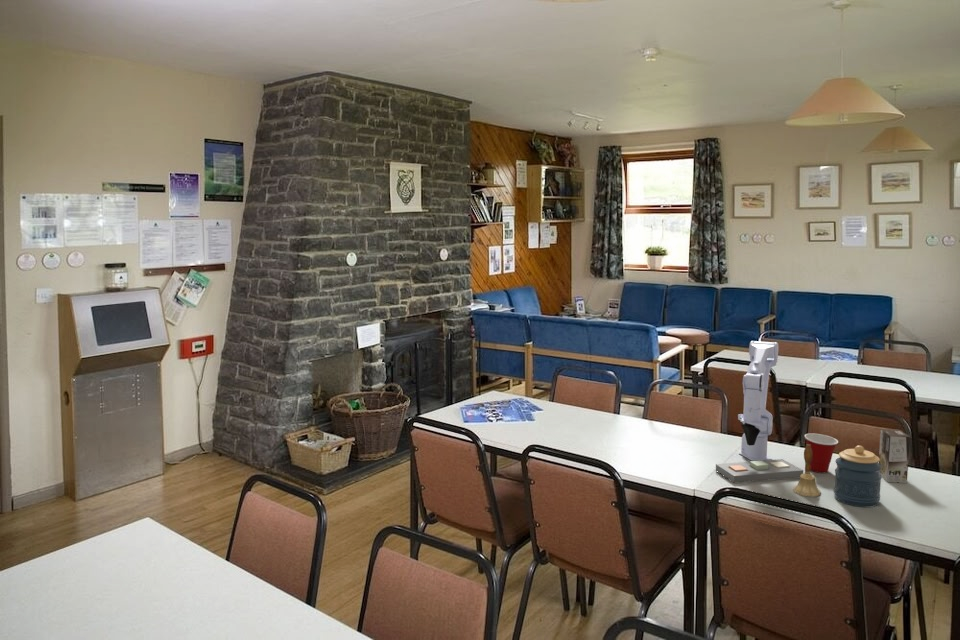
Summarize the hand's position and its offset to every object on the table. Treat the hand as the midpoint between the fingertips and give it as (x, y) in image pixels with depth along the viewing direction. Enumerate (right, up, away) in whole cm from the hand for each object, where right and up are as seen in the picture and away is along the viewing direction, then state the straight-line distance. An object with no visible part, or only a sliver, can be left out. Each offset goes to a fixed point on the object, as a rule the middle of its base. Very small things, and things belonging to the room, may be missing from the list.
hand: (750, 444), depth 245 cm
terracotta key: (-6, -9, -4) cm, 12 cm away
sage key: (+2, -8, -3) cm, 9 cm away
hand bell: (+11, -12, -19) cm, 25 cm away
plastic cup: (+25, -9, +1) cm, 26 cm away
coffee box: (+45, -10, -8) cm, 47 cm away
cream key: (+10, -9, -1) cm, 13 cm away
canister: (+23, -13, -26) cm, 37 cm away
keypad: (+2, -10, -3) cm, 10 cm away
